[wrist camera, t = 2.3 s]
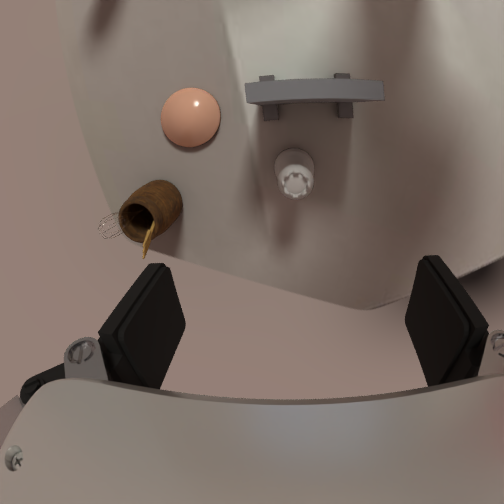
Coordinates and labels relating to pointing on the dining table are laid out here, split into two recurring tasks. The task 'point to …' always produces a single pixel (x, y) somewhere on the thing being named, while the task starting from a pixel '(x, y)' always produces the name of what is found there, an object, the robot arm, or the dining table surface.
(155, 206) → the utensil holder
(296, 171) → the rook chess piece
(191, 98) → the pink round domed part
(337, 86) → the grey upright panel
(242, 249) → the dining table surface
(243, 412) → the robot arm
